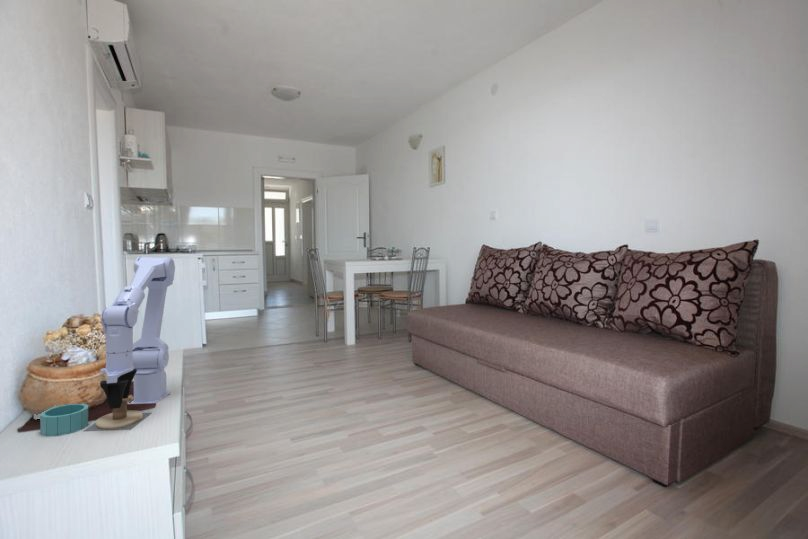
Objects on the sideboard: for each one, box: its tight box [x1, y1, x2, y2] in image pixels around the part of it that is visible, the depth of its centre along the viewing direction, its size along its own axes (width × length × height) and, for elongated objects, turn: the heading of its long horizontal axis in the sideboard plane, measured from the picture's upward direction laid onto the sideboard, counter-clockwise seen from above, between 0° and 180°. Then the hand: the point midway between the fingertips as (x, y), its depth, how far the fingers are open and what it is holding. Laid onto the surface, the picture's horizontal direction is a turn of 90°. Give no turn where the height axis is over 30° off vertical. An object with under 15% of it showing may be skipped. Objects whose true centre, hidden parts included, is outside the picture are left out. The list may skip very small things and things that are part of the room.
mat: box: [83, 412, 153, 432], centre depth 104 cm, size 11×11×1 cm
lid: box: [95, 399, 143, 429], centre depth 104 cm, size 10×10×5 cm
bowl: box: [39, 403, 89, 437], centre depth 100 cm, size 9×9×5 cm
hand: (119, 402), depth 104 cm, fingers open, 7 cm apart
